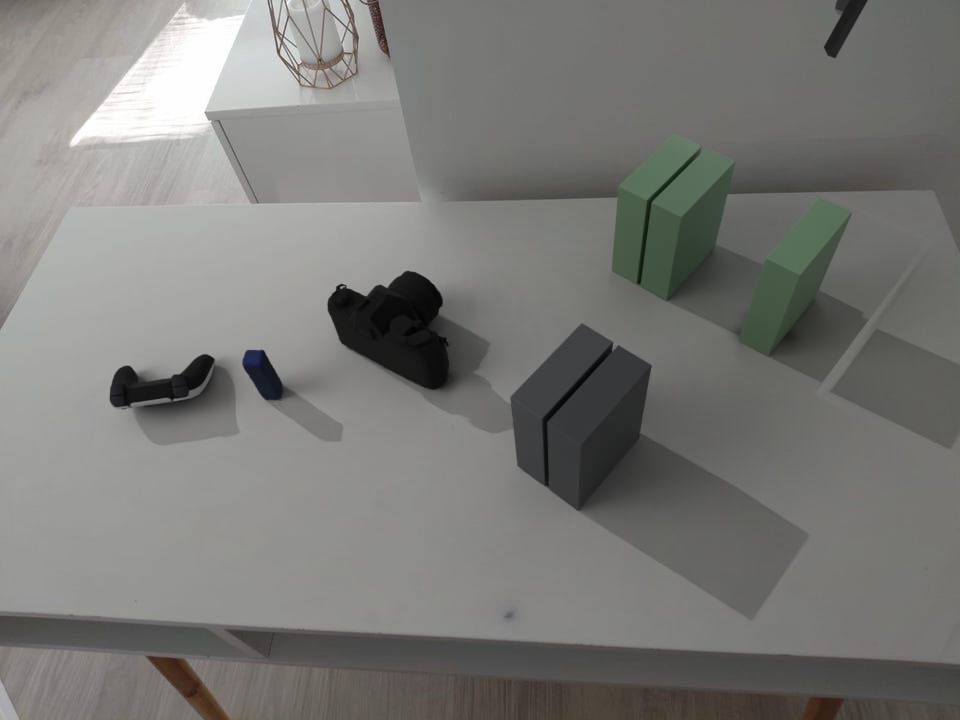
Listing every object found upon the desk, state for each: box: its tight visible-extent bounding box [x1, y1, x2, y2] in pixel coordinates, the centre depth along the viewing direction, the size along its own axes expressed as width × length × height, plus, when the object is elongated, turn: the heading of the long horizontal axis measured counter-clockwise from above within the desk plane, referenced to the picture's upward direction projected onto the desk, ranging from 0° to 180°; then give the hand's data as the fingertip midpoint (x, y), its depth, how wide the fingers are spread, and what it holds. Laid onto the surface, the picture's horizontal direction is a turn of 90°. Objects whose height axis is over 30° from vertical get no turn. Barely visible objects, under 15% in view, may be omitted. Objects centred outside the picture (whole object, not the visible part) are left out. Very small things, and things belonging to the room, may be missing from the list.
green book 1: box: [611, 133, 703, 285], centre depth 84 cm, size 4×10×13 cm, turn 139°
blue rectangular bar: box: [241, 349, 284, 401], centre depth 80 cm, size 2×2×7 cm
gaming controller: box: [109, 353, 216, 410], centre depth 82 cm, size 11×4×7 cm
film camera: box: [326, 270, 450, 390], centre depth 81 cm, size 15×10×9 cm, turn 56°
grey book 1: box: [509, 322, 614, 487], centre depth 71 cm, size 4×10×13 cm, turn 138°
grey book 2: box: [547, 345, 653, 511], centre depth 69 cm, size 4×10×13 cm, turn 138°
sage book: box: [738, 196, 853, 357], centre depth 77 cm, size 4×10×13 cm, turn 138°
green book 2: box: [640, 148, 736, 301], centre depth 82 cm, size 4×10×13 cm, turn 139°
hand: (902, 79), depth 67 cm, fingers open, 13 cm apart
